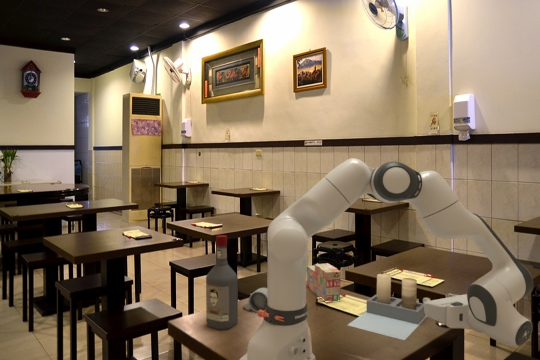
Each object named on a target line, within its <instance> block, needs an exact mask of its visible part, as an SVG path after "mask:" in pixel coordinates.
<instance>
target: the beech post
mask: <svg viewBox="0 0 540 360" xmlns="http://www.w3.org/2000/svg"><path fill="white" fill-rule="evenodd" d="M417 282H418V280H416V279H415V278H412V277H404V278H401V299H402V307H403V308H407V309H412V310H416V302H417V287H418V286H417V284H418V283H417Z"/></svg>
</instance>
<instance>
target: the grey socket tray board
mask: <svg viewBox="0 0 540 360" xmlns="http://www.w3.org/2000/svg"><path fill="white" fill-rule="evenodd" d="M391 283H392V276H391V274H387V273H378V274H377V275H376V294H374V295H373V296H372V297H370V298H369V299H367V300H366V311H365V312H363V313H362V314H361V315H359V316H358V317H356V318H355V319H354V320H352V321H350V322H349V323H348V324H347V326H348V327H352V328H356V329H360V330H363V331H366V332H367V331H368V332H372V333H376V334H380V335H383V336H386V337H391V338H394V339H398V340H402V341H406V339H408V338H409V336H410V335H411V334H412V333H413V332H414V331H415V330H416V329H417V328H418V327H419V326H420V325H421V324H422V322H424V320H426V318H428V317H429V316H427V315H426V314H425V312H424V303H423V302H422V303H421V302H419V301H416V310H412V309H407V308H403V307H402V298H397V297H393V296H392V294H391V291H392V289H391V288H392V284H391Z"/></svg>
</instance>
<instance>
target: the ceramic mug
mask: <svg viewBox="0 0 540 360" xmlns="http://www.w3.org/2000/svg"><path fill="white" fill-rule="evenodd" d="M266 304H267V287H260V288H257V289H256V290H254V291H253V292H252V293H251V294H250V296H249V297H248V300H247V301H245V302H244V303H243V308H244V309H247V308H250V309H251V310H252V312H255V313H258V312H259V310H260V309H261V310H263V311H265V307H266Z"/></svg>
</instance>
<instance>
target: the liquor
mask: <svg viewBox="0 0 540 360" xmlns="http://www.w3.org/2000/svg"><path fill="white" fill-rule="evenodd" d="M215 246H216V262H215V264H214V266H213V267H212V268H211V269H210V270H209V272H208V273H207V275H206V276H205V288H206V289H205V290H206V292H205V297H206V299H205V301H206V302H205V304H206V306H205V308H206V309H205V310H206V311H205V312H206V317H205V318H206V321H205V322H206V325H207V326H208V328H212V329H216V330H220V331H222V330H229V329H231V328H232V327H233V326H234V327H235V325H237V323H238V320H239V318H238V317H239V316H238V311H239V309H238V308H239V307H238V306H239V304H238V302H239V301H238V300H239V299H238V298H239V297H238V296H239V295H238V294H239V293H238V291H239V290H238V289H239V287H238V285H239V284H238V283H239V282H238V281H239V280H238V275H237V273H236V272H235V270H233V268H232V267H231V266H230V264H229V262H228V253H227V252H228V251H227V248H228V247H227V246H228V235H224V234H219V235H218V234H217V235H215Z"/></svg>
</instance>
